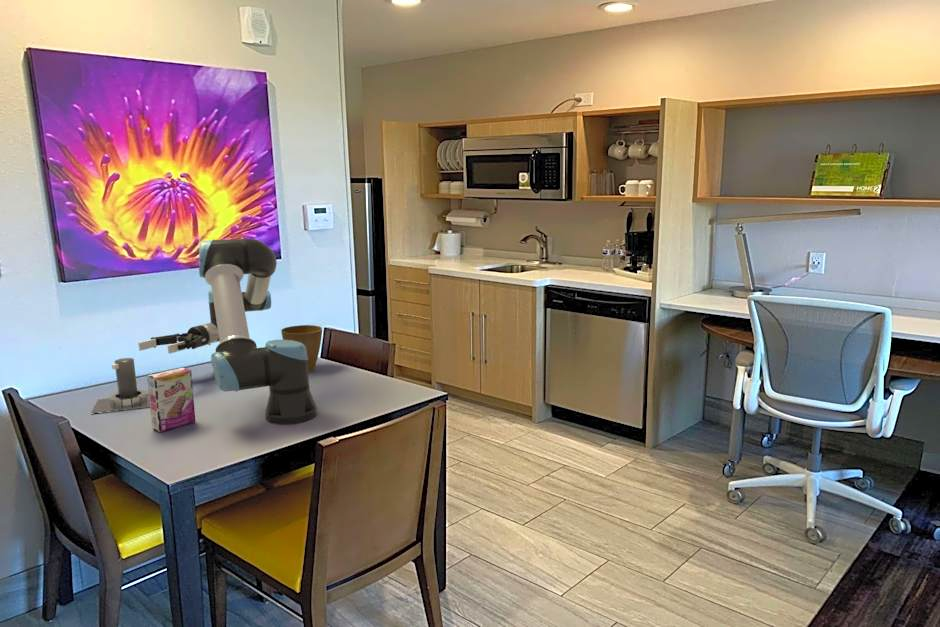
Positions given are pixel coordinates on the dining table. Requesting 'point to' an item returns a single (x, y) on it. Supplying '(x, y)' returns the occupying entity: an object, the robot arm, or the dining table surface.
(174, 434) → the dining table surface
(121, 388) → the grey tall cylinder
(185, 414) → the candy bar box
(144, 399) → the well
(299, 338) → the plant pot
